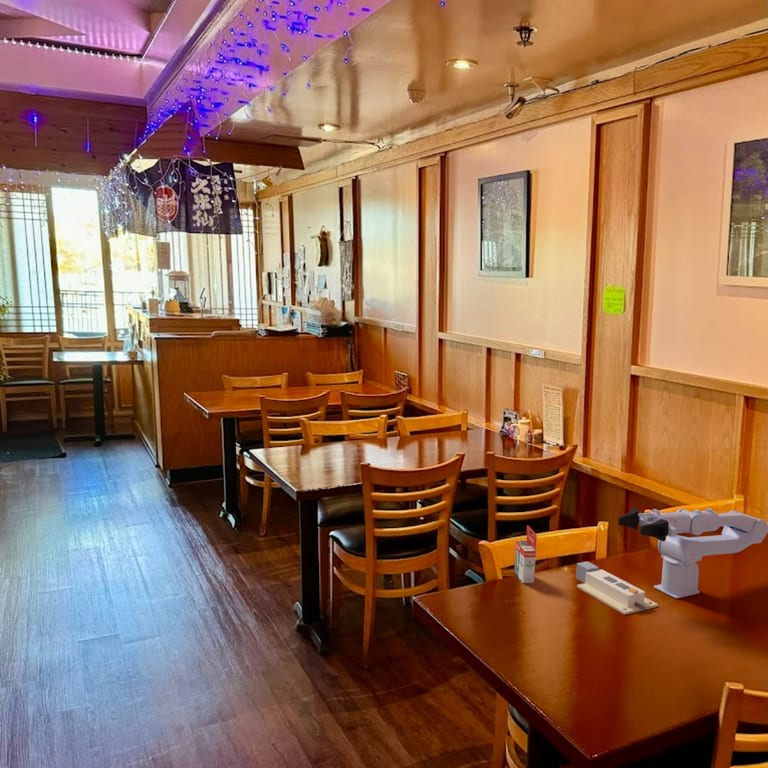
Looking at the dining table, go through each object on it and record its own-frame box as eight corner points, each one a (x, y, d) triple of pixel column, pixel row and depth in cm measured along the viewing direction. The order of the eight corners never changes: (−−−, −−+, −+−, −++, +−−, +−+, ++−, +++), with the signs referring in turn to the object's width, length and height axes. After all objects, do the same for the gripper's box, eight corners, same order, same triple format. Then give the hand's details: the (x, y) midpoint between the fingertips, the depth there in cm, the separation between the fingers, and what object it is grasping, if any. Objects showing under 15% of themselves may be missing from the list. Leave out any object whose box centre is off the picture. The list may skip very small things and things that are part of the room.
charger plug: (586, 575, 198) (587, 561, 197) (604, 586, 191) (606, 571, 190) (575, 578, 196) (576, 563, 195) (594, 588, 189) (595, 573, 189)
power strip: (608, 580, 195) (609, 565, 195) (661, 608, 178) (662, 592, 178) (576, 587, 190) (577, 572, 189) (627, 616, 173) (628, 600, 172)
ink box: (522, 583, 191) (524, 534, 189) (513, 572, 199) (515, 525, 197) (534, 583, 192) (537, 534, 190) (525, 572, 200) (528, 524, 198)
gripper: (647, 501, 190) (611, 503, 184) (690, 517, 177) (653, 519, 171) (644, 525, 190) (608, 528, 184) (686, 543, 178) (650, 546, 172)
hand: (630, 525), depth 178 cm, fingers open, 7 cm apart
